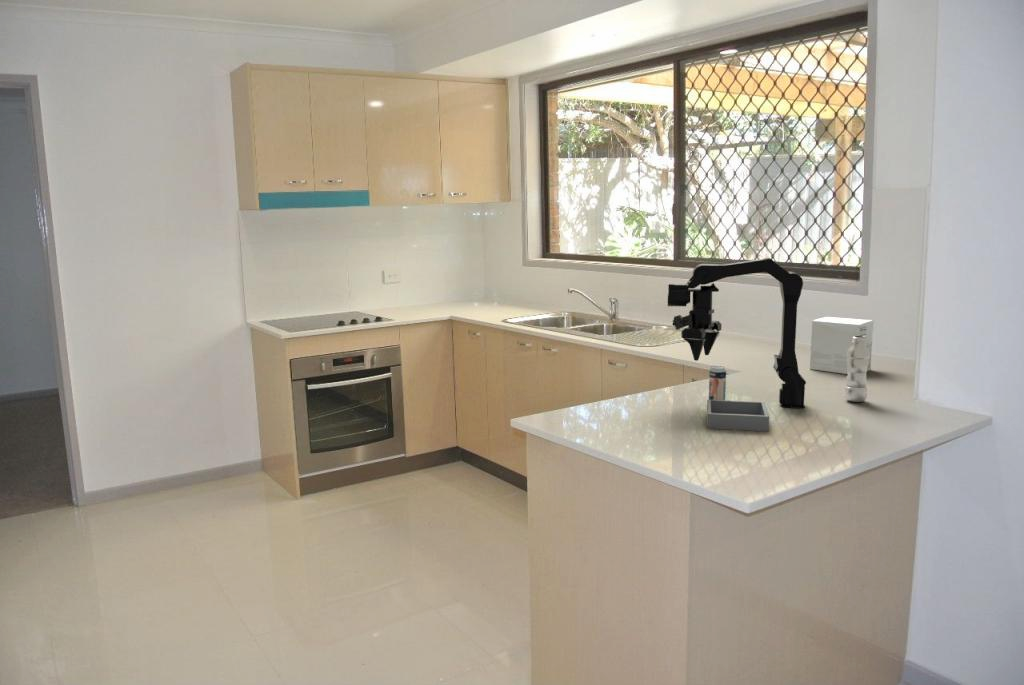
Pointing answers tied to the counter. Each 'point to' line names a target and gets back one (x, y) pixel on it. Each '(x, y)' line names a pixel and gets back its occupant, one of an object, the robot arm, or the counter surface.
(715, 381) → the beer can
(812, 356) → the supplement box
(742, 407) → the box
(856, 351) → the plastic bottle
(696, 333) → the robot arm
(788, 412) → the counter surface
